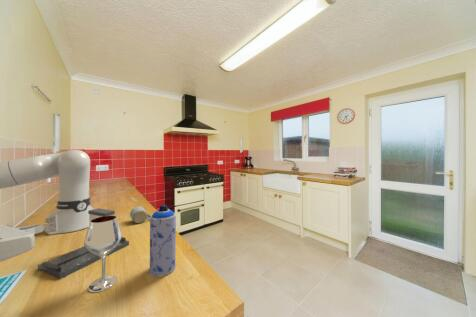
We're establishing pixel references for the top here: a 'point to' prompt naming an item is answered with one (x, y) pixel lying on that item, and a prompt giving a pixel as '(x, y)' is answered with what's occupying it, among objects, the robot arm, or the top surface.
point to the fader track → (74, 261)
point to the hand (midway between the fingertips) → (41, 227)
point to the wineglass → (102, 246)
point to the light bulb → (139, 214)
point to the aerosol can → (162, 242)
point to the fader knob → (99, 213)
